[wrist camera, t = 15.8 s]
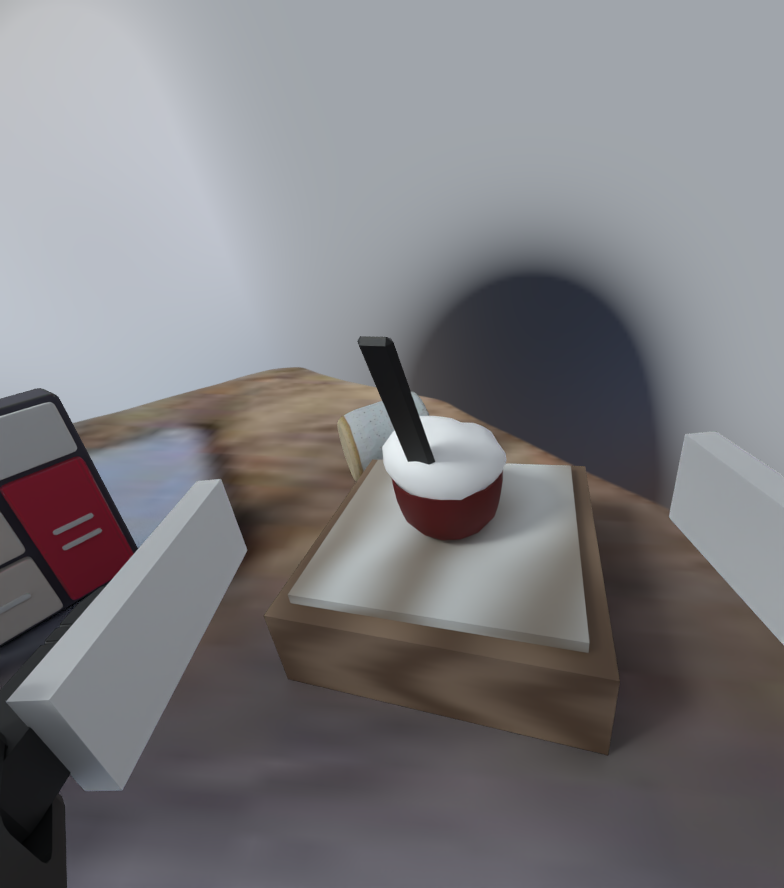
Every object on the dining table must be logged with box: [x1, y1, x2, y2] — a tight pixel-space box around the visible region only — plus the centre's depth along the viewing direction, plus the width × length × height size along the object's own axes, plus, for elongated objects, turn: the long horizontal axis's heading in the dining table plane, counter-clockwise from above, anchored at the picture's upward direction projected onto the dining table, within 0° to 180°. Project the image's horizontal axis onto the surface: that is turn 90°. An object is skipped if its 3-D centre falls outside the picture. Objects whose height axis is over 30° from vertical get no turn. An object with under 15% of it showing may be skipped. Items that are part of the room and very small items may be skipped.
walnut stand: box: [264, 459, 620, 755], centre depth 26 cm, size 16×16×6 cm
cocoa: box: [358, 336, 506, 540], centre depth 22 cm, size 10×6×12 cm, turn 126°
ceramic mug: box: [337, 392, 429, 482], centre depth 39 cm, size 11×8×8 cm
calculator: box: [0, 388, 138, 647], centre depth 29 cm, size 11×4×15 cm, turn 140°
